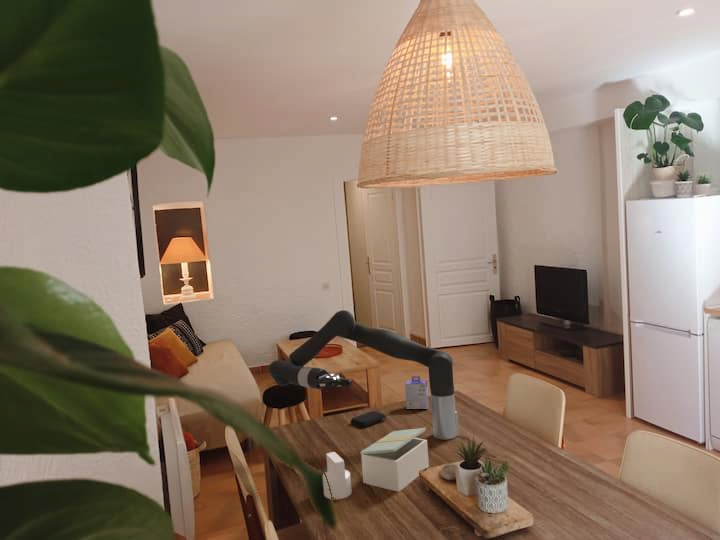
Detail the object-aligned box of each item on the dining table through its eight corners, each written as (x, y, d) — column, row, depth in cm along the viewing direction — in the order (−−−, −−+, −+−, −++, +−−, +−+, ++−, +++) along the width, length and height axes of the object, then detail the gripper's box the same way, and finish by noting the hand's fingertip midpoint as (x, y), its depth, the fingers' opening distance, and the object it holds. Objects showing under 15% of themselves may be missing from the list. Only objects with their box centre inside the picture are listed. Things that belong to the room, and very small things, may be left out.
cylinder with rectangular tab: (320, 490, 194) (317, 455, 193) (345, 484, 197) (342, 449, 196) (329, 502, 185) (326, 465, 184) (355, 494, 189) (353, 458, 188)
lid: (360, 454, 196) (360, 451, 196) (393, 433, 212) (393, 430, 212) (394, 451, 187) (393, 448, 188) (426, 429, 204) (425, 427, 204)
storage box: (363, 483, 197) (361, 454, 196) (394, 460, 213) (393, 433, 212) (398, 491, 189) (396, 461, 188) (428, 467, 205) (427, 440, 204)
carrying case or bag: (365, 430, 246) (390, 420, 256) (364, 423, 246) (389, 414, 255) (348, 425, 254) (373, 415, 264) (348, 418, 254) (373, 409, 263)
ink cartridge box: (429, 406, 270) (427, 375, 269) (428, 410, 265) (426, 378, 264) (407, 406, 272) (405, 375, 271) (406, 410, 267) (404, 379, 266)
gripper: (300, 372, 212) (338, 377, 202) (323, 363, 223) (360, 368, 213) (301, 392, 213) (339, 399, 203) (324, 383, 224) (361, 388, 214)
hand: (350, 383), depth 208 cm, fingers closed
